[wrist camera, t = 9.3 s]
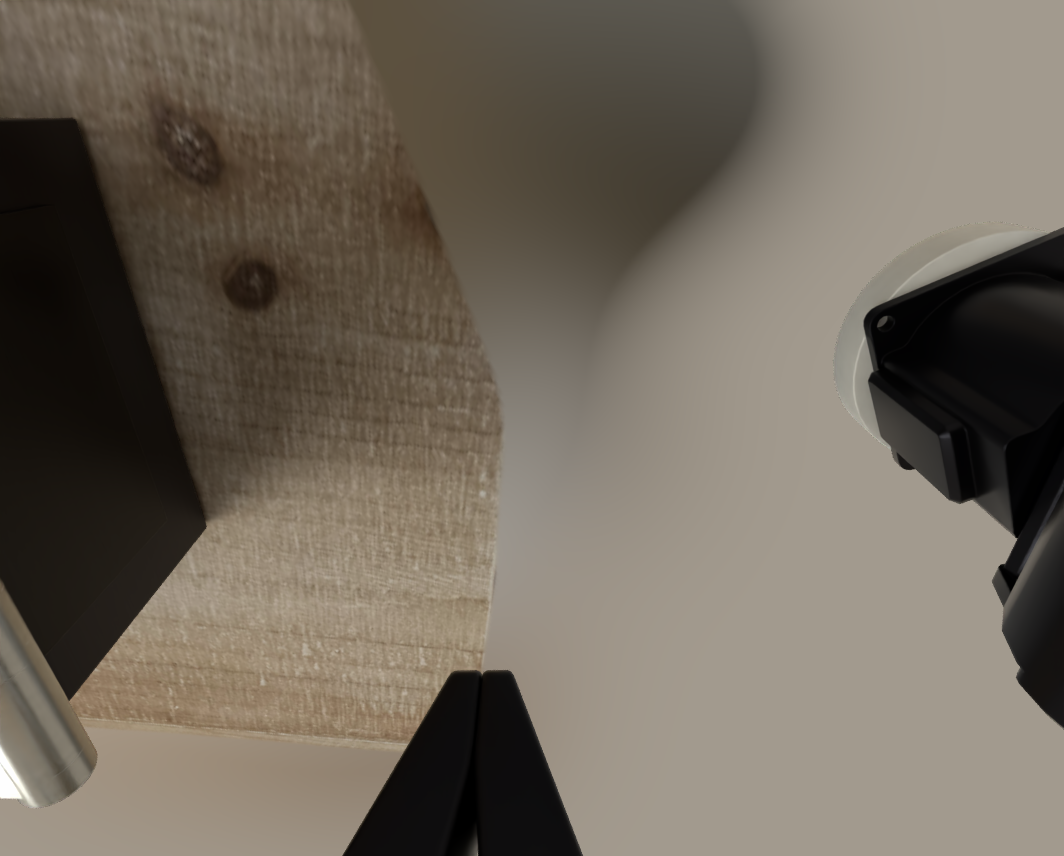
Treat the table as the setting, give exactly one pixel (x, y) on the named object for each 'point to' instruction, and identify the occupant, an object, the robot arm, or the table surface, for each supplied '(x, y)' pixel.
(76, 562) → the oven door
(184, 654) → the table surface
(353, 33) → the table surface
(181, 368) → the table surface
